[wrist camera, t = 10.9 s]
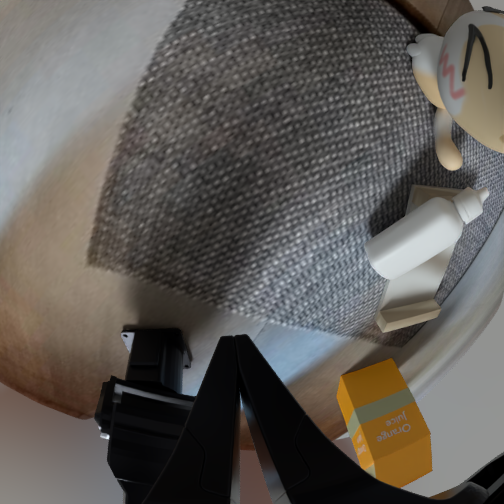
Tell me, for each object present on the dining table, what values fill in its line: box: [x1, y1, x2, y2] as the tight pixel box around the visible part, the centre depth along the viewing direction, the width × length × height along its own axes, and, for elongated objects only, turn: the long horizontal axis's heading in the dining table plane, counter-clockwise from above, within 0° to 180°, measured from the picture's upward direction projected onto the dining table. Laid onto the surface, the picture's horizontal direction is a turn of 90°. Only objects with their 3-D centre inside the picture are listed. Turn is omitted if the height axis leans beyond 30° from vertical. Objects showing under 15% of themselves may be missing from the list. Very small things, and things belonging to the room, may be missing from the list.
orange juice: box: [337, 358, 432, 488], centre depth 29 cm, size 8×9×20 cm
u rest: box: [374, 184, 464, 333], centre depth 24 cm, size 16×9×2 cm, turn 0°
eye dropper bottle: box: [364, 187, 489, 280], centre depth 19 cm, size 4×6×12 cm
